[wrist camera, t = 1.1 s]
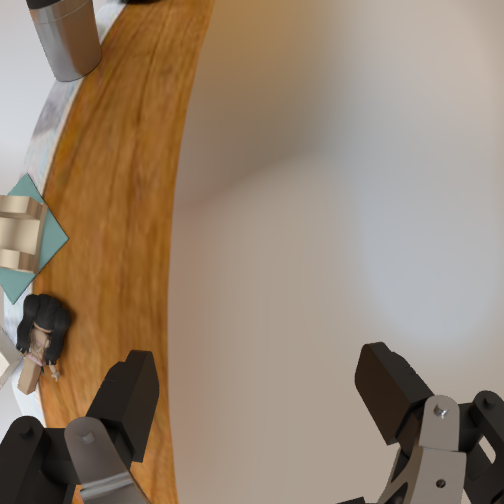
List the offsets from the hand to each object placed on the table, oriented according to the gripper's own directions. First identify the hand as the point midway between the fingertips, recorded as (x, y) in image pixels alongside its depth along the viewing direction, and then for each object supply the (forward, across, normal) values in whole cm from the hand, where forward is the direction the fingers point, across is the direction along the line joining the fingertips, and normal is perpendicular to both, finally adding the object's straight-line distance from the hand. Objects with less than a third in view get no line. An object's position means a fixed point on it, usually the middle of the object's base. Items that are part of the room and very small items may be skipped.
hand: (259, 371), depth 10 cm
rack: (+21, +31, -1) cm, 37 cm away
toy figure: (+17, +26, +13) cm, 34 cm away
